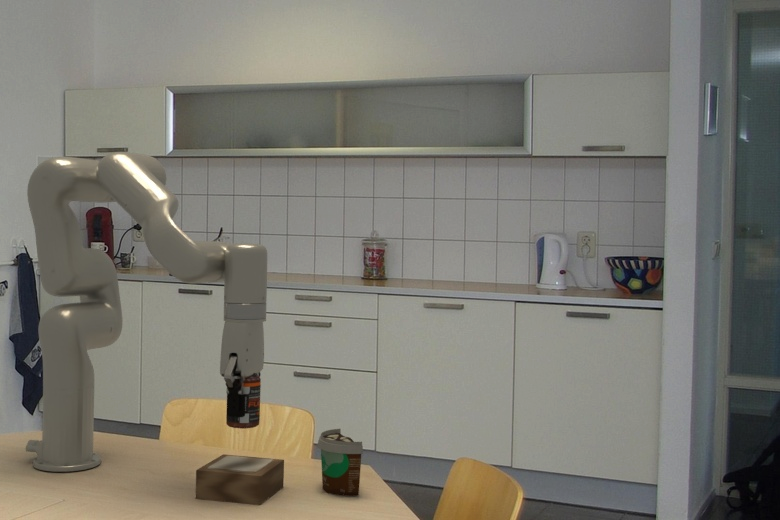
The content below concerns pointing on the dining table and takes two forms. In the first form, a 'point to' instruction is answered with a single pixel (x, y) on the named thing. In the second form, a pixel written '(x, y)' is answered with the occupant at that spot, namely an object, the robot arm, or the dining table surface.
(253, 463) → the walnut base
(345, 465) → the food container
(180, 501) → the dining table surface
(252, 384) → the supplement bottle
